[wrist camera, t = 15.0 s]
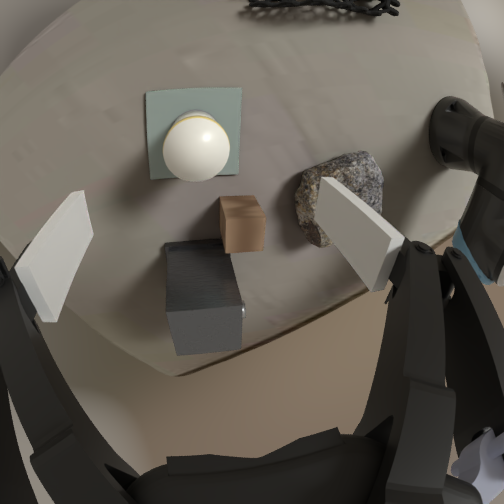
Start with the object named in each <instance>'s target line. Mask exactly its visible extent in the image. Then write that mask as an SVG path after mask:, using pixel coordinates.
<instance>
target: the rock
mask: <svg viewBox="0 0 504 504" xmlns="http://www.w3.org/2000/svg"><path fill="white" fill-rule="evenodd" d="M321 177H333V178H334V179H336V180H337V181H338V182H340V183H341V184H342V185H344V186H345V187H346V188H347V189H349V190H350V191H351V192H352V193H354V194H355V195H356V196H357V197H359V198H360V199H361V200H362V201H364V202H365V203H366V204H367V205H368V206H370V207H371V208H372V209H373V210H374V211H376V212H377V213H378V214H379V215H381V213H382V201H383V200H382V189H383V184H384V178H383V175H382V172H381V170H380V168H379V167H378V165H377V164H376V162H375V160H374V158H373V156H372V155H370V154H369V153H367V152H365V151H358V152H357V153H349V154H343V155H342V156H340V157H339V158H337V159H335V160H332V161H329V162H325V163H323V164H321V165H318V166H316V167H313V168H311V169H307V170H305V171H304V172H303V175H302V180H301V184H300V187H299V188H298V189H297V191H296V193H295V207H296V213H297V217H298V221H299V226H300V228H301V229H302V230H303V232H304V233H305V235H306V238H307V239H308V241H309V242H310V243H311V244H313V245H315V246H317V247H319V248H324V247H329V246H330V245H332V244H334V243H333V242H332V241H331V239H330V238H329V237H328V236H327V235H326V233H325V232H324V231H323V230H322V228H321V227H320V226H319V225H318V224H317V222H316V221H315V220H314V217H315V211H316V205H317V200H318V194H319V188H320V181H321Z"/></svg>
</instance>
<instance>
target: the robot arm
mask: <svg viewBox="0 0 504 504" xmlns="http://www.w3.org/2000/svg"><path fill="white" fill-rule="evenodd" d="M429 139H430V146H431V150H432V153H433V155H434V157H435V158H436V160H437V161H438V162H439V163H440V164H442V165H444V166H446V167H448V168H450V169H456V170H464V171H471V172H474V173H476V174H477V175H479V176H478V179H477V181H476V184H475V187H474V189H473V192H472V194H471V197H470V199H469V201H468V204H467V206H466V208H465V211H464V213H463V215H462V217H461V219H460V220H459V222H458V227H457V229H456V231H455V234H454V236H453V240H452V243H453V247H447V248H446V249H445V252H444V254H443V256H442V255H436V254H435V252H434V250H433V249H432V248H431V247H430V246H428V245H427V244H425V243H422V242H419V241H412V242H410V241H409V240H408V239H407V238H406V237H405V236H404V235H403V234H402V233H401V232H400V231H398V230H396V228H395V227H394V226H393V225H391V223H389V222H388V221H387V220H386V219H385V218H383V217H381V216H380V215H379V214H378V213H377V212H376V211H374V210H373V209H372V208H371V207H370V206H368V205H367V204H366V203H365V202H364V201H362V200H361V199H360V198H359V197H357V196H356V195H355V194H354V193H352V192H351V191H350V190H349V189H347V188H346V187H345V186H344V185H342V184H341V183H340V182H338V181H337V180H336V179H334V178H333V177H321V181H320V188H319V194H318V200H317V205H316V211H315V217H314V220H315V221H316V222H317V224H318V225H319V226H320V227H321V228H322V230H323V231H324V232H325V233H326V235H327V236H328V237H329V238H330V239H331V241H332V242H333V243H334V244H335V246H336V247H337V248H338V250H339V251H340V252H341V253H342V255H343V256H344V257H345V258H346V260H347V261H348V262H349V264H350V265H351V266H352V268H353V269H354V270H355V271H356V273H357V274H358V275H359V277H360V278H361V279H362V281H363V282H364V283H365V285H366V286H367V288H368V289H369V290H370V292H375V291H380V290H384V288H385V286H386V284H387V281H388V279H389V280H390V281H391V282H392V283H393V286H392V288H391V290H390V292H389V294H388V296H387V299H386V301H385V304H387V302H388V301H389V303H388V310H387V316H386V323H385V328H384V334H383V339H382V344H381V349H380V354H379V358H378V363H377V367H376V371H375V375H374V380H373V383H372V387H371V391H370V394H369V398H368V401H367V405H366V408H365V412H364V414H363V417H362V419H361V421H360V423H359V424H358V426H357V428H356V429H355V431H354V433H353V435H351V434H350V435H349V434H340V432H339V430H338V428H337V427H336V428H333V429H330V430H327V431H323V432H320V433H317V434H314V435H310V436H306V437H303V438H299V439H297V440H295V441H294V442H292V443H290V444H288V445H286V446H284V447H282V448H280V449H278V450H275V451H274V452H271V453H269V454H267V455H265V456H263V457H259V458H241V457H229V456H220V455H212V454H207V455H195V456H171V457H166V458H167V464H165V465H161V466H159V467H156V468H154V469H151V470H150V471H148V472H146V473H144V474H143V475H141V476H140V475H139V474H138V473H137V472H136V471H135V470H134V469H133V468H132V467H131V466H129V465H128V464H127V463H126V462H125V461H124V460H123V459H122V458H121V457H120V456H119V455H118V454H116V452H115V451H114V450H113V449H112V447H111V446H110V445H109V444H108V443H107V441H106V440H105V439H104V437H102V435H101V434H100V432H99V431H98V430H97V428H96V427H95V426H94V424H93V423H92V421H91V420H90V419H89V417H88V416H87V414H86V413H85V411H84V410H83V408H82V407H81V406H80V404H79V402H78V401H77V399H76V398H75V396H74V394H73V393H72V391H71V389H70V388H69V386H68V385H67V383H66V381H65V379H64V378H63V376H62V374H61V372H60V370H59V368H58V367H57V365H56V363H55V361H54V359H53V357H52V355H51V353H50V351H49V349H48V347H47V345H46V343H45V340H44V338H43V336H42V334H41V332H40V329H39V327H38V325H37V323H36V321H35V320H34V317H35V315H36V312H37V313H38V315H39V316H40V318H41V319H42V321H43V322H57V320H58V317H59V315H60V311H61V309H62V306H63V304H64V301H65V298H66V296H67V293H68V291H69V288H70V286H71V283H72V281H73V278H74V276H75V274H76V271H77V269H78V267H79V264H80V262H81V260H82V258H83V256H84V254H85V251H86V249H87V247H88V245H89V243H90V241H91V239H92V237H93V235H94V234H93V230H92V226H91V222H90V218H89V214H88V209H87V205H86V200H85V195H84V190H83V191H76V192H72V193H71V194H70V195H69V196H68V197H67V198H66V199H65V200H64V202H63V203H62V204H61V205H60V206H59V207H58V209H57V210H56V211H55V212H54V213H53V215H52V216H51V217H50V218H49V220H48V221H47V222H46V223H45V225H44V226H43V227H42V229H41V230H40V231H39V233H38V234H37V235H36V237H35V238H34V239H33V240H32V241H31V242H30V243H29V244H28V245H27V246H26V247H25V249H24V250H23V251H22V253H21V254H20V256H19V259H17V260H16V262H15V263H14V265H13V267H12V268H11V270H10V271H8V270H7V267H6V265H5V263H4V261H3V258H2V257H1V256H0V504H38V502H37V499H36V497H35V494H34V491H33V489H32V486H31V484H30V481H29V479H28V475H27V473H26V470H25V467H24V464H23V460H22V457H21V453H20V451H19V446H18V442H17V439H16V435H15V430H14V425H13V420H12V415H11V410H10V404H9V397H8V391H9V394H10V396H11V399H12V402H13V405H14V407H15V410H16V412H17V414H18V417H19V419H20V422H21V424H22V426H23V428H24V430H25V433H26V435H27V437H28V439H29V441H30V443H31V445H32V447H33V450H34V453H33V454H32V455H31V456H30V462H31V465H32V467H33V469H34V471H35V473H36V474H37V476H38V478H39V480H40V481H41V483H42V485H43V486H44V488H45V489H46V491H47V492H48V494H49V495H50V497H51V498H52V500H53V501H54V503H55V504H489V503H490V502H491V501H492V500H493V499H494V498H495V497H496V496H497V495H498V494H499V493H500V492H501V491H502V490H503V489H504V328H503V326H502V324H501V321H500V319H499V317H498V315H497V312H496V310H495V308H494V306H493V304H492V302H491V300H490V298H489V296H488V294H487V292H486V290H485V288H484V286H483V285H482V283H483V284H486V285H490V284H491V283H494V282H496V284H497V285H498V286H504V123H503V122H500V121H498V120H495V119H493V118H490V117H488V116H485V115H483V114H482V113H481V112H480V111H478V110H477V109H476V108H474V107H473V106H472V105H470V104H469V103H468V102H466V101H465V100H463V99H460V98H457V97H453V96H448V97H445V98H443V99H442V100H441V101H440V102H439V103H438V104H437V106H436V108H435V110H434V112H433V114H432V118H431V122H430V129H429ZM490 192H491V193H490ZM481 282H482V283H481ZM454 287H455V291H454V295H453V297H452V299H451V296H450V294H451V292H452V290H453V288H454ZM445 377H446V382H447V387H445ZM7 388H8V389H7ZM453 436H454V441H455V446H456V451H457V454H458V458H459V459H458V460H456V461H455V462H454V463H453V464H452V466H451V473H452V475H453V476H456V477H457V476H459V477H458V478H455V477H453V476H450V475H448V474H446V473H447V467H448V463H449V457H450V452H451V445H452V439H453Z"/></svg>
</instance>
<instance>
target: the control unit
mask: <svg viewBox="0 0 504 504" xmlns="http://www.w3.org/2000/svg"><path fill="white" fill-rule="evenodd" d="M165 252H166V259H167V286H166V315H167V319H168V323H169V327H170V331H171V335H172V339H173V343H174V346H175V350H176V353H177V356H178V355H191V354H202V353H212V352H221V351H230V350H238V349H241V338H242V318H246V308H245V303H244V301H242V300H241V296H240V292H239V288H238V285H237V281H236V277H235V273H234V270H233V266H232V262H231V258H230V253H225V249H224V245H223V240H222V239H209V240H195V241H182V242H170V243H165Z"/></svg>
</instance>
